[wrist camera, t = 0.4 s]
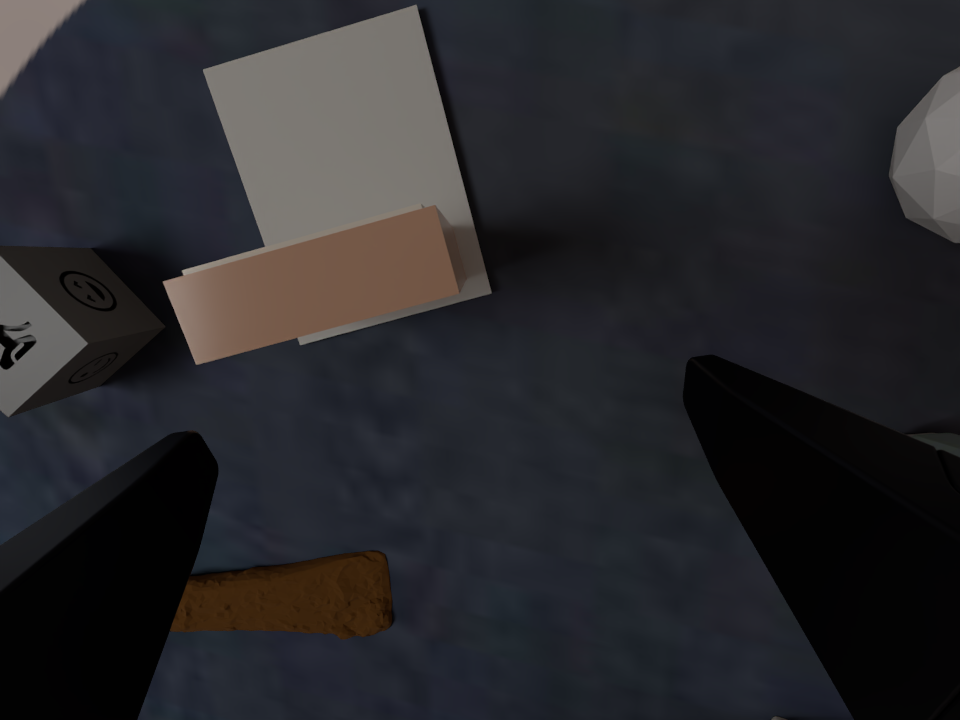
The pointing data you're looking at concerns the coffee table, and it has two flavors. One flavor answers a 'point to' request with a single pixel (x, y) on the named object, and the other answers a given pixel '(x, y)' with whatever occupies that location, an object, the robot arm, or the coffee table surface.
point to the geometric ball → (931, 160)
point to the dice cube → (63, 325)
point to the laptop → (777, 718)
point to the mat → (346, 139)
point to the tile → (317, 282)
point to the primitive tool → (293, 598)
